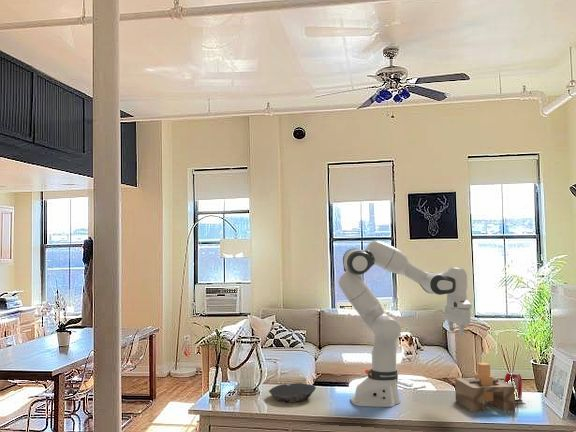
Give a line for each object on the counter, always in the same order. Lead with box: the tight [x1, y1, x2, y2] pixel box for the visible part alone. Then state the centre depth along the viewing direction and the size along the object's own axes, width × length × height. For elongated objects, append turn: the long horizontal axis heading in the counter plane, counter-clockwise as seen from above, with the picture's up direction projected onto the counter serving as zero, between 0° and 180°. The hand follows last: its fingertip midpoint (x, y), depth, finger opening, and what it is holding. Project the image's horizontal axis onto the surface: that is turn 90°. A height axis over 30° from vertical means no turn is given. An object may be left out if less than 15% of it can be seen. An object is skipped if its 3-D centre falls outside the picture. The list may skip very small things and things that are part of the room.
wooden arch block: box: [454, 376, 516, 413], centre depth 240 cm, size 19×17×12 cm
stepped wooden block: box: [474, 362, 494, 402], centre depth 240 cm, size 5×6×16 cm
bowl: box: [268, 382, 317, 404], centre depth 251 cm, size 22×22×5 cm
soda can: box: [504, 371, 523, 401], centre depth 249 cm, size 7×7×12 cm
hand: (456, 333), depth 247 cm, fingers open, 8 cm apart
